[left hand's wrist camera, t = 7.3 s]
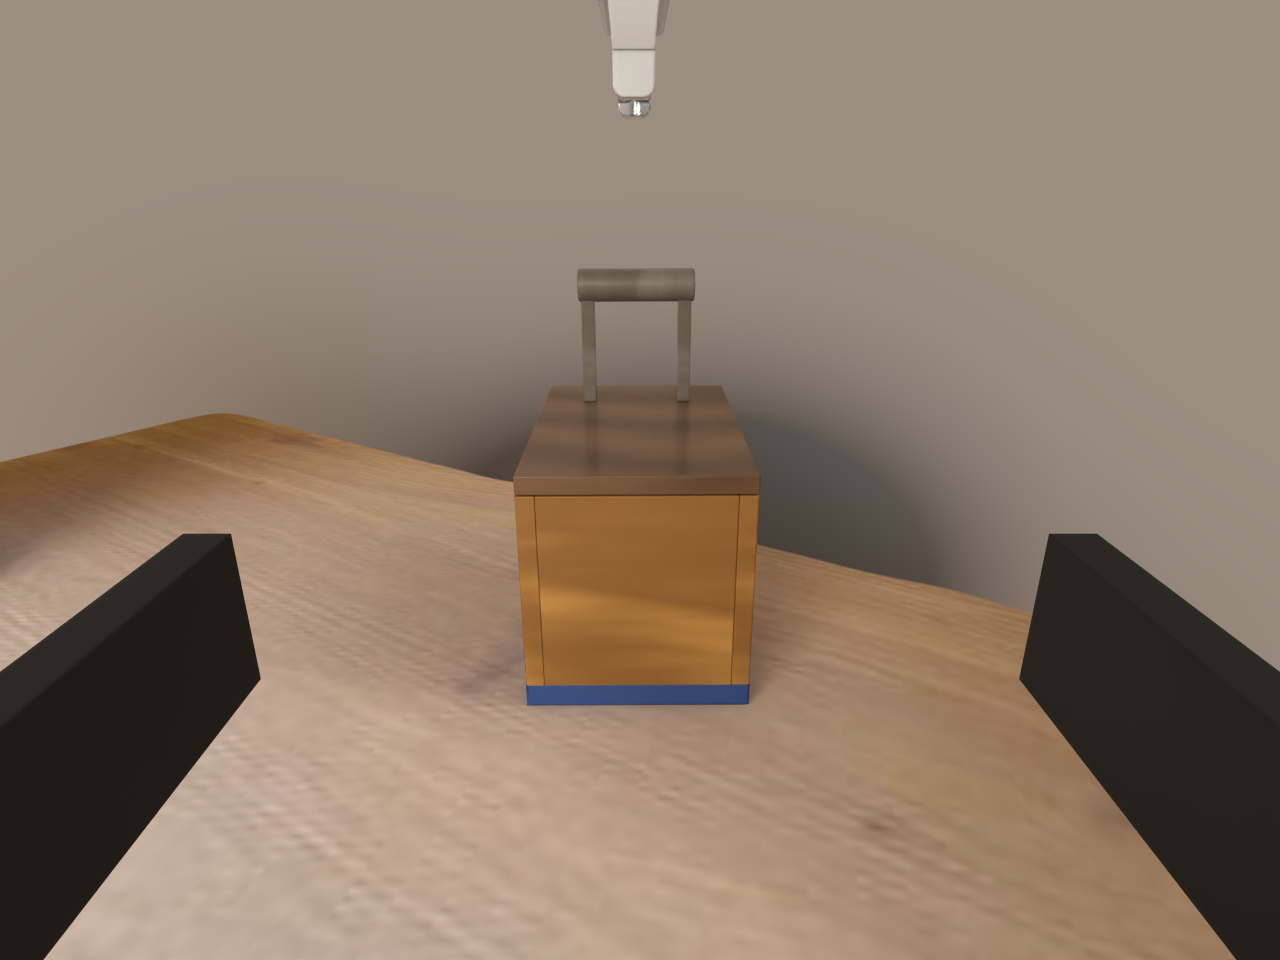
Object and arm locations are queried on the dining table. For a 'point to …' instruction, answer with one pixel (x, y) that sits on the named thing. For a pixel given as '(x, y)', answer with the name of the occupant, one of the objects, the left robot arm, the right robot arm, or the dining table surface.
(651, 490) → the lid
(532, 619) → the chest
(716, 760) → the dining table surface
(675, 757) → the dining table surface
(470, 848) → the dining table surface
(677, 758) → the dining table surface
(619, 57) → the right robot arm
